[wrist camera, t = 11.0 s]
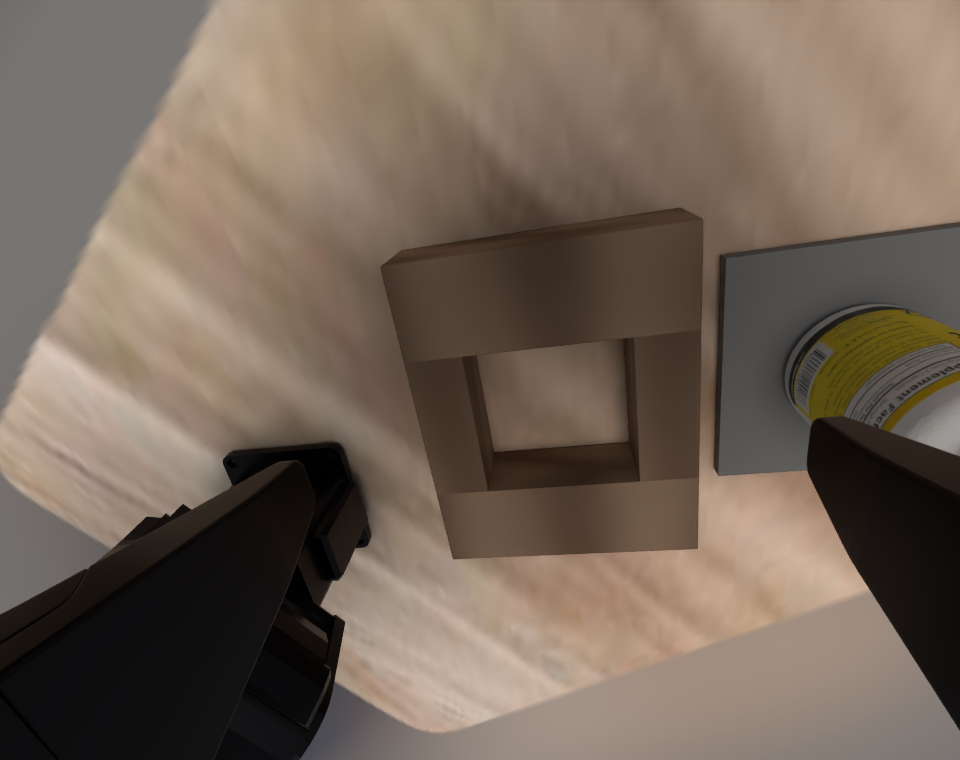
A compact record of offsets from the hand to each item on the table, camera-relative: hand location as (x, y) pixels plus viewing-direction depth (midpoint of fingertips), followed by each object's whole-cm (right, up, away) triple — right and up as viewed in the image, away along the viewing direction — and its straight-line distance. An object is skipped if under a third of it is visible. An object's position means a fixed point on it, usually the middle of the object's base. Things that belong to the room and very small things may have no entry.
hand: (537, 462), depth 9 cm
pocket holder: (+2, +1, +14) cm, 14 cm away
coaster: (+14, +2, +12) cm, 18 cm away
